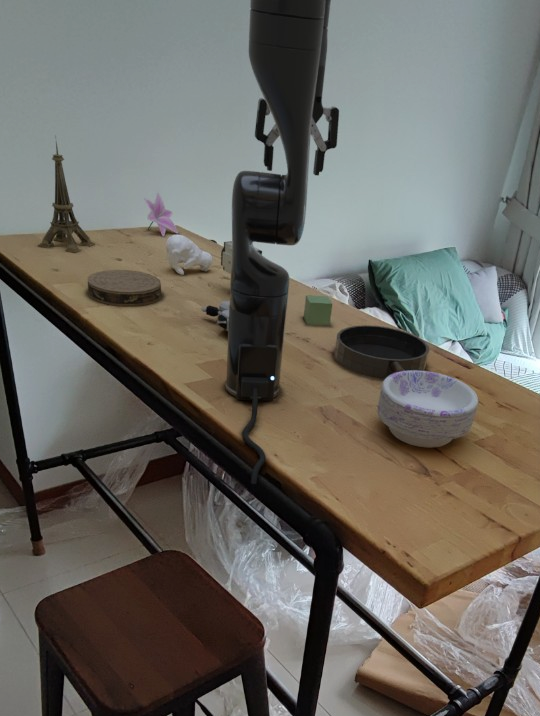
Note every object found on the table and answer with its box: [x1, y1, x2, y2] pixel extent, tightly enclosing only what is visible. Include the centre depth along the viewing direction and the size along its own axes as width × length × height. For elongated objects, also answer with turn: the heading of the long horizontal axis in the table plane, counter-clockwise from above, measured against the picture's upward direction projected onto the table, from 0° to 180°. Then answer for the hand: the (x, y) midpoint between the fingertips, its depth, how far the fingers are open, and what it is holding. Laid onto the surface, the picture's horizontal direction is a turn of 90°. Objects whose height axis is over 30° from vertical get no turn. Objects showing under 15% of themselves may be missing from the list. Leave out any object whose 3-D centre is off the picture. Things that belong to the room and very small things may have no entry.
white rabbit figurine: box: [165, 234, 213, 276], centre depth 162 cm, size 6×8×12 cm
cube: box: [303, 294, 333, 326], centre depth 142 cm, size 5×5×5 cm
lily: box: [143, 191, 179, 237], centre depth 190 cm, size 12×12×10 cm
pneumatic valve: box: [220, 240, 263, 275], centre depth 149 cm, size 6×12×12 cm, turn 36°
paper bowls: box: [376, 370, 479, 449], centre depth 103 cm, size 15×15×8 cm
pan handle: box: [390, 361, 405, 373], centre depth 117 cm, size 9×2×2 cm, turn 9°
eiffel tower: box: [37, 135, 96, 254], centre depth 164 cm, size 11×11×25 cm
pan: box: [333, 324, 430, 380], centre depth 127 cm, size 18×18×4 cm
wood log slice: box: [87, 269, 162, 307], centre depth 144 cm, size 16×16×3 cm
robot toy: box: [200, 300, 230, 332], centre depth 134 cm, size 12×4×15 cm
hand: (292, 172), depth 116 cm, fingers open, 8 cm apart
